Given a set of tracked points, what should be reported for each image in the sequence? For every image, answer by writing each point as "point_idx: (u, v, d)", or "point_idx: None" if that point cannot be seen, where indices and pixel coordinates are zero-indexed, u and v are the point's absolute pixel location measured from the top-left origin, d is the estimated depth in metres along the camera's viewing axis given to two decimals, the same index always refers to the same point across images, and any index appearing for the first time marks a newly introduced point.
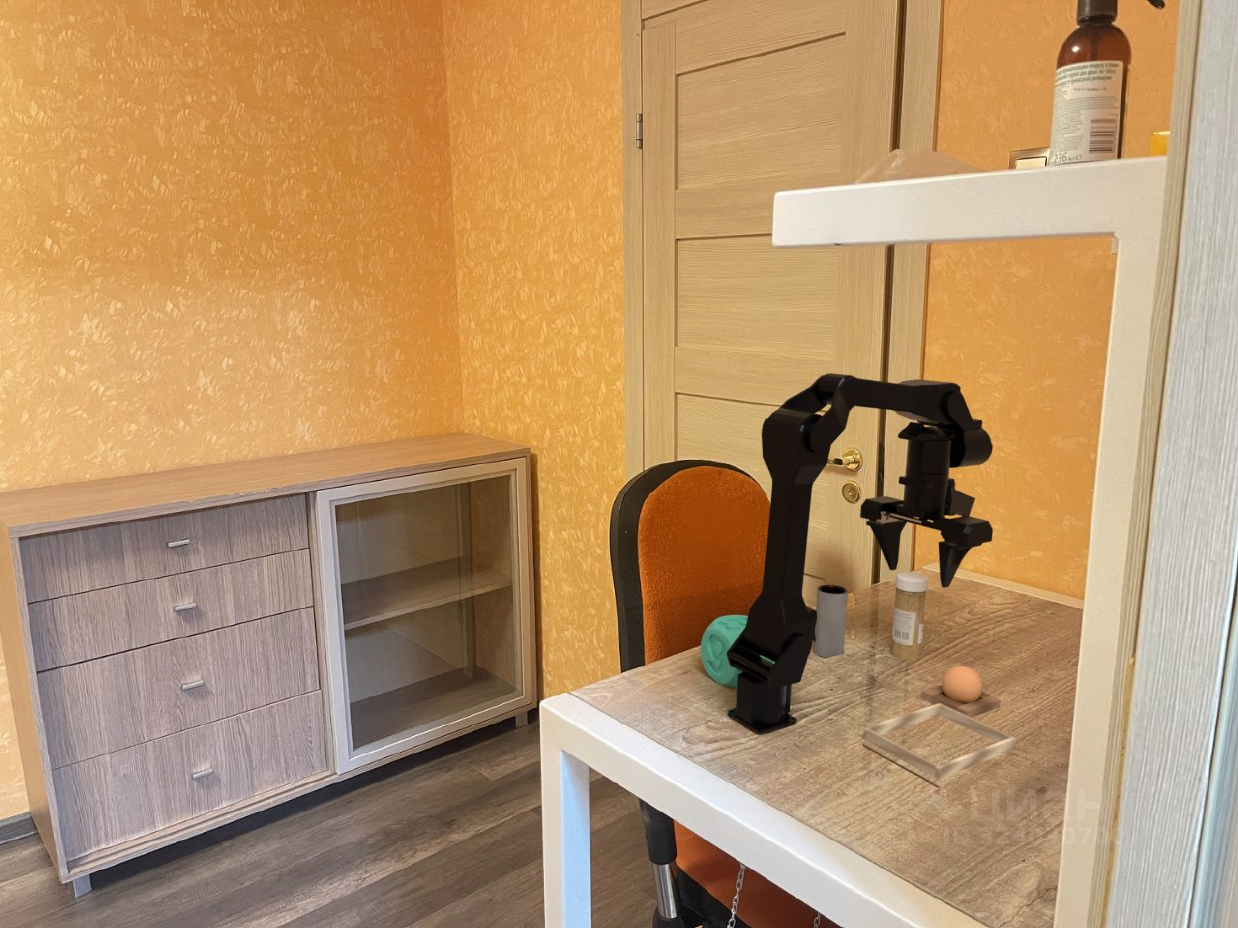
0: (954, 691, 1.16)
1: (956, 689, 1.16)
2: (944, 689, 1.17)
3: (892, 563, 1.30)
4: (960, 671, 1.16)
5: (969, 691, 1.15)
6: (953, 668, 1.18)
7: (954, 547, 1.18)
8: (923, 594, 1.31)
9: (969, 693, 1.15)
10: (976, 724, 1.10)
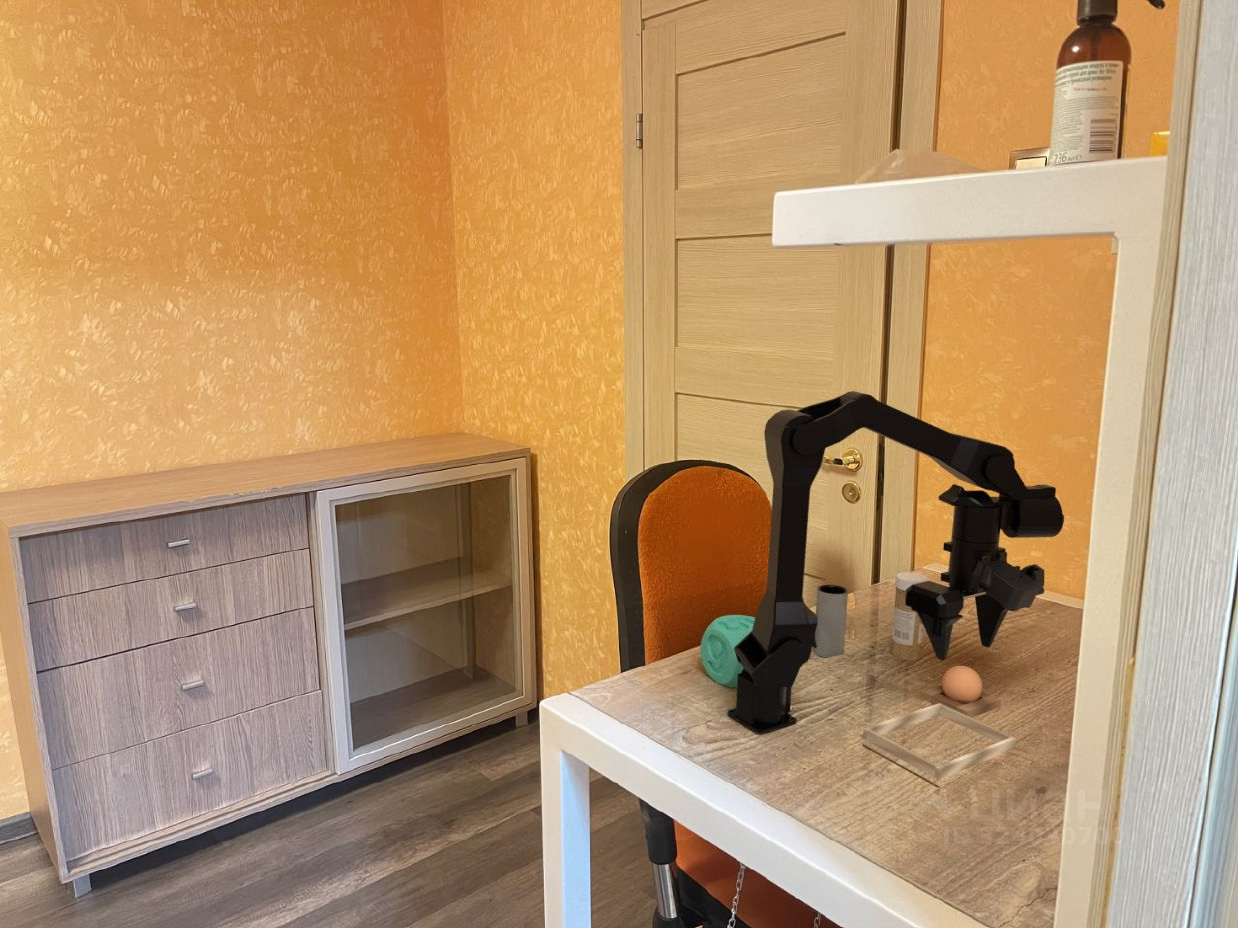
0: (954, 691, 1.16)
1: (956, 689, 1.16)
2: (944, 689, 1.17)
3: (982, 638, 1.19)
4: (960, 671, 1.16)
5: (969, 691, 1.15)
6: (953, 668, 1.18)
7: None
8: None
9: (969, 693, 1.15)
10: (976, 724, 1.10)
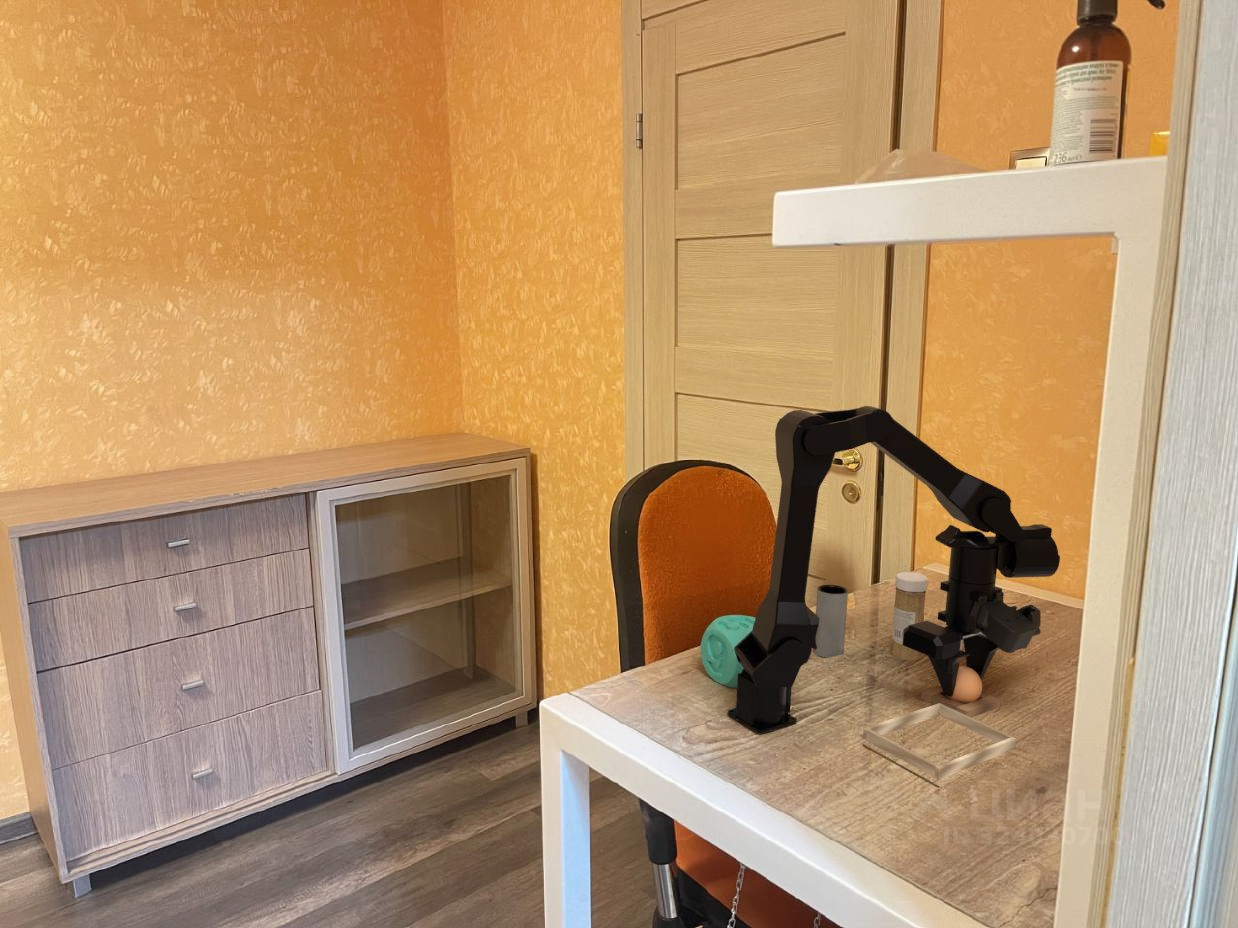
0: (954, 691, 1.16)
1: (956, 689, 1.16)
2: None
3: None
4: (960, 671, 1.16)
5: (969, 691, 1.15)
6: None
7: None
8: (923, 594, 1.31)
9: (969, 693, 1.15)
10: (976, 724, 1.10)
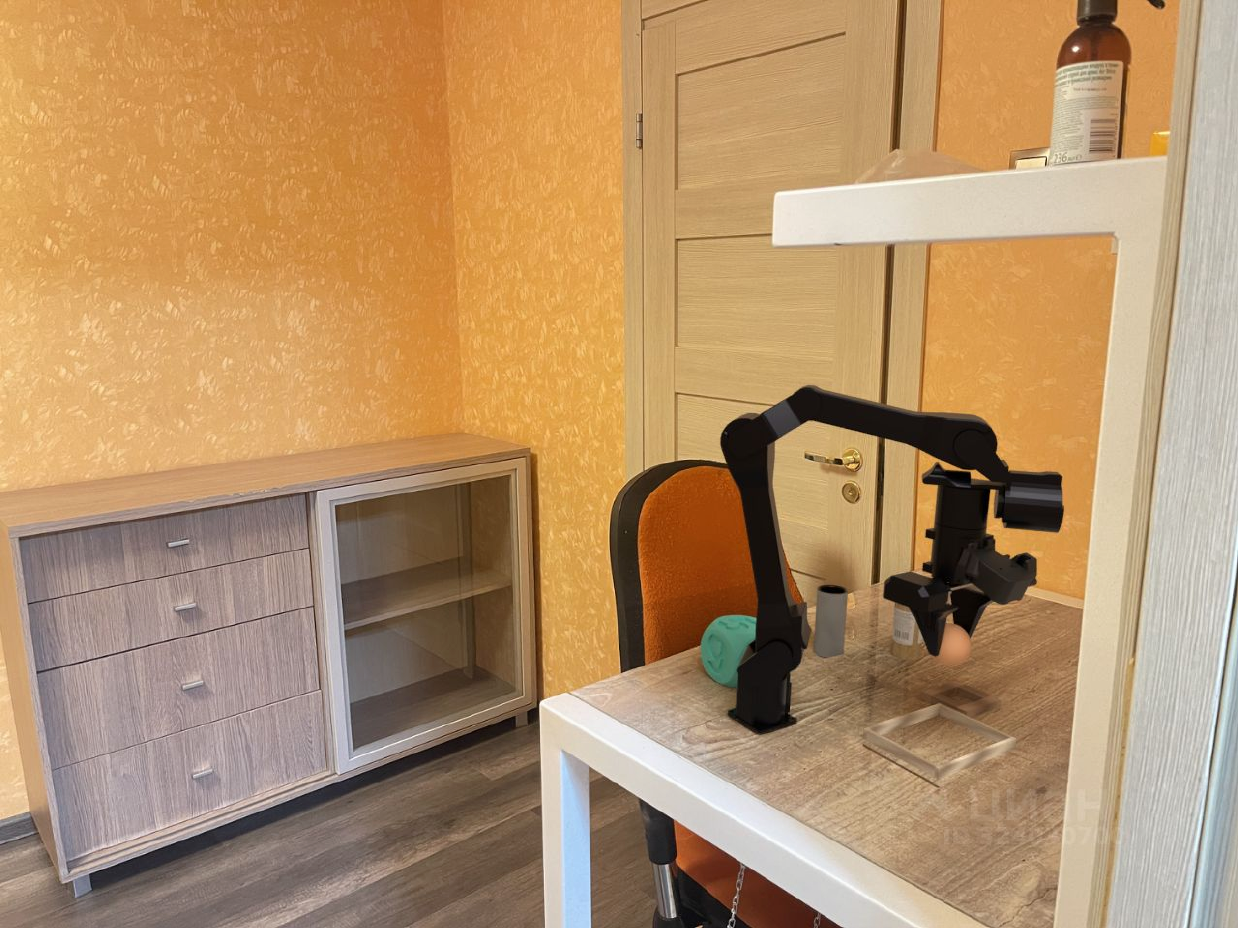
0: (940, 651, 1.04)
1: (943, 648, 1.04)
2: None
3: None
4: (948, 629, 1.04)
5: (957, 650, 1.03)
6: None
7: None
8: None
9: (957, 652, 1.03)
10: (976, 724, 1.10)
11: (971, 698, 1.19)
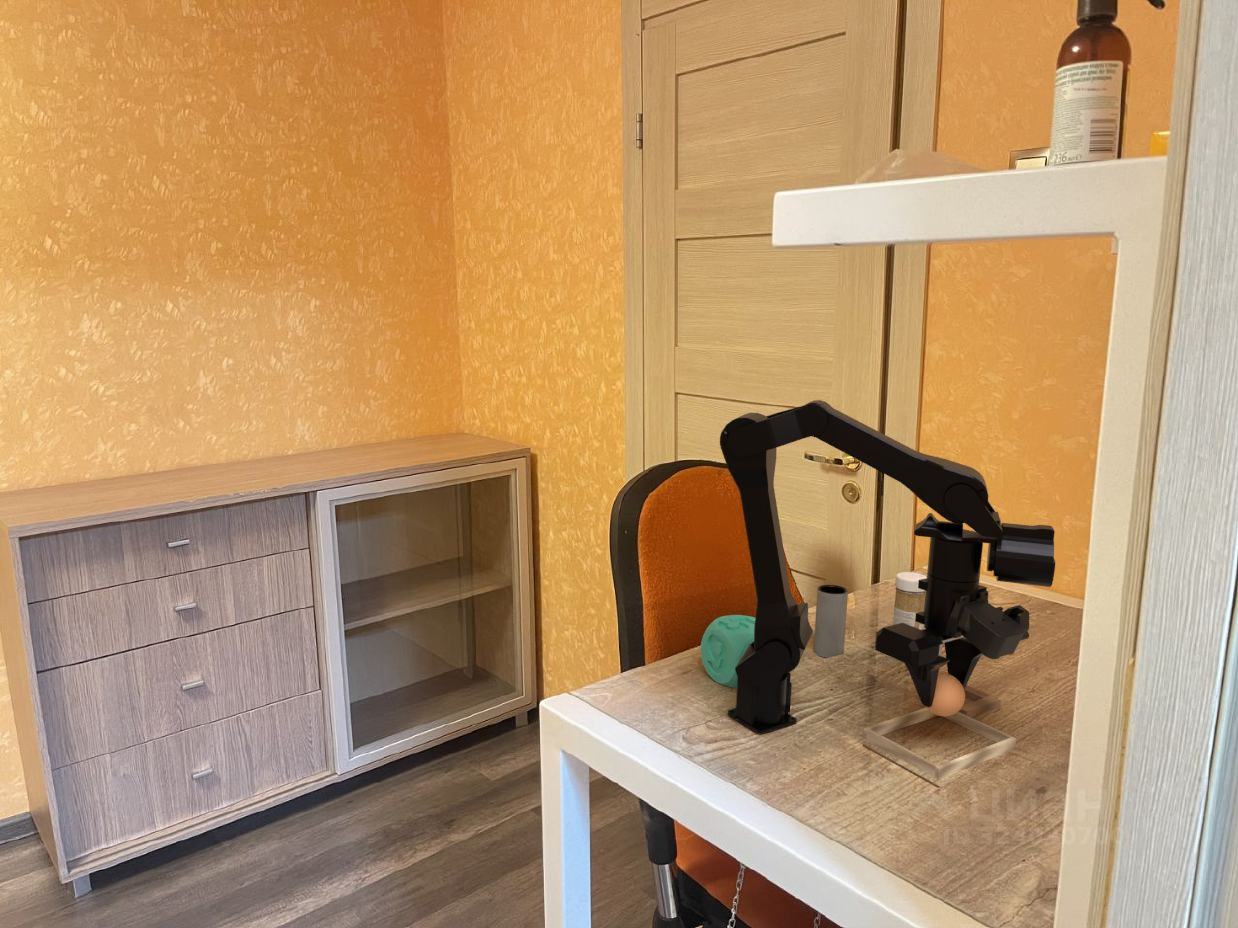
0: (933, 701, 1.04)
1: (936, 699, 1.04)
2: None
3: None
4: (941, 680, 1.04)
5: (950, 701, 1.03)
6: None
7: None
8: (923, 594, 1.31)
9: (950, 703, 1.03)
10: (976, 724, 1.10)
11: (971, 698, 1.19)
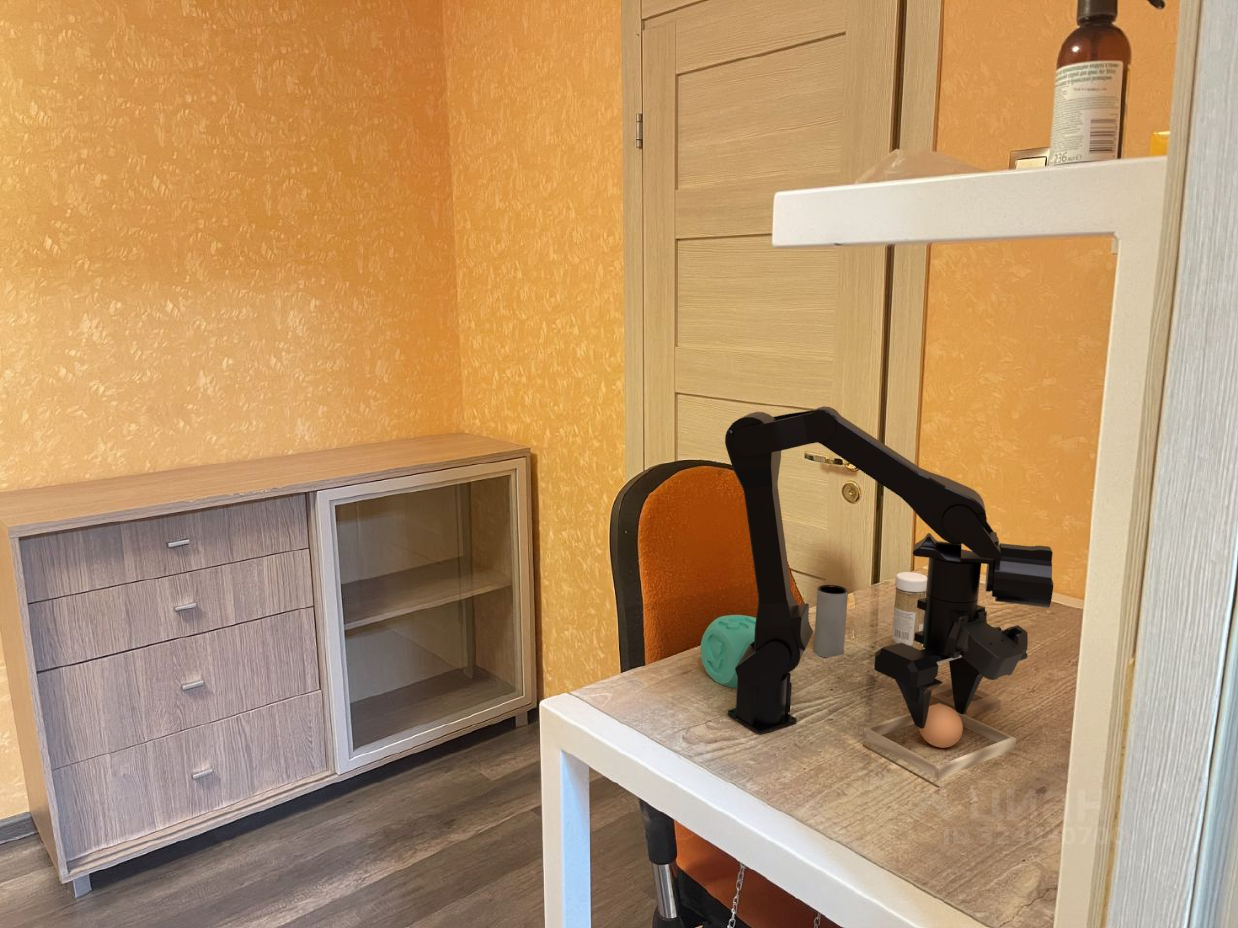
0: (931, 733, 1.05)
1: (933, 731, 1.04)
2: (921, 730, 1.06)
3: (956, 703, 1.08)
4: (939, 711, 1.05)
5: (948, 734, 1.04)
6: (931, 707, 1.06)
7: None
8: (923, 594, 1.31)
9: (948, 735, 1.04)
10: (976, 724, 1.10)
11: None
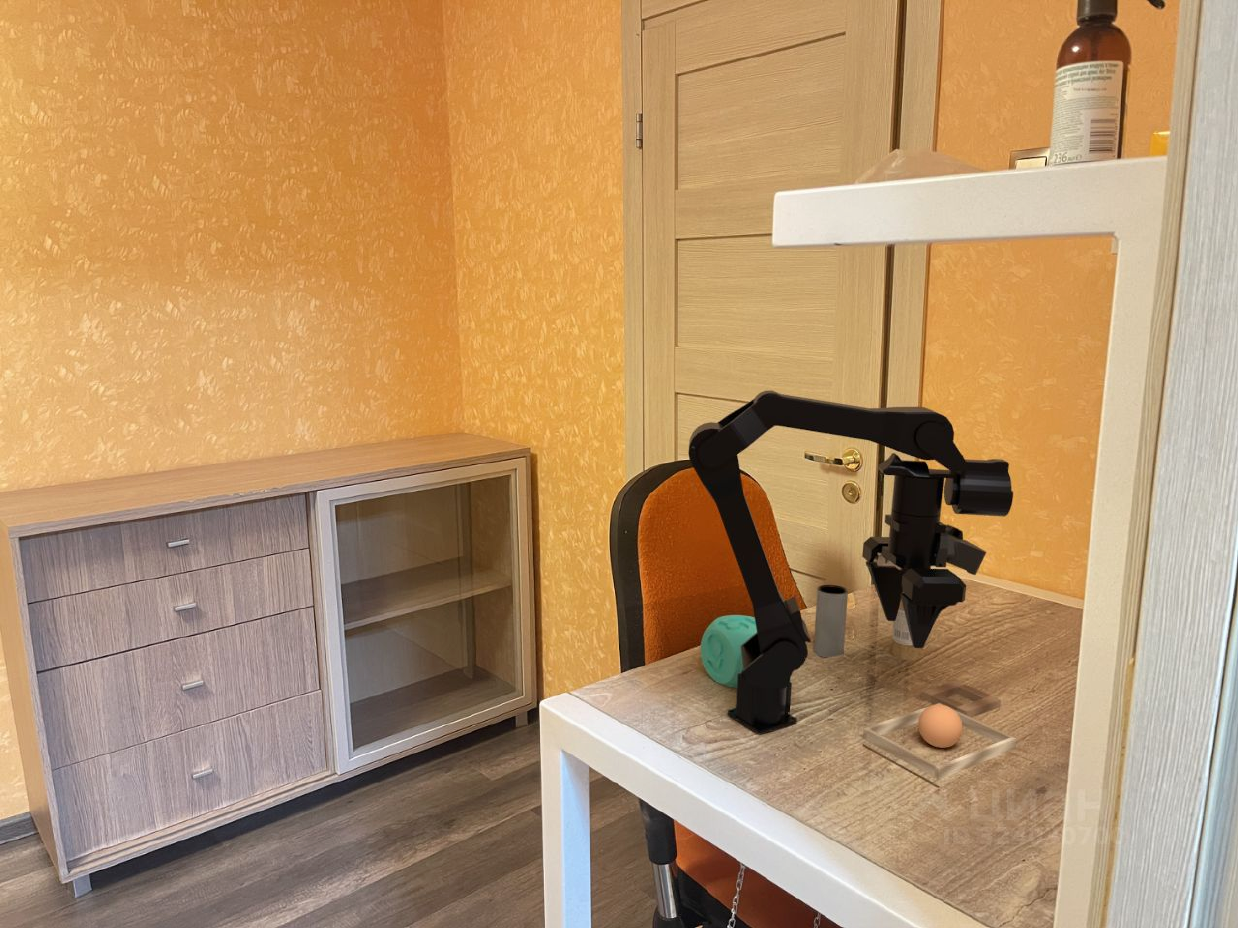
0: (931, 734, 1.05)
1: (933, 731, 1.04)
2: (920, 731, 1.06)
3: (888, 613, 1.15)
4: (938, 712, 1.05)
5: (947, 734, 1.04)
6: (930, 707, 1.06)
7: (908, 601, 1.02)
8: None
9: (948, 736, 1.04)
10: (976, 724, 1.10)
11: (971, 698, 1.19)
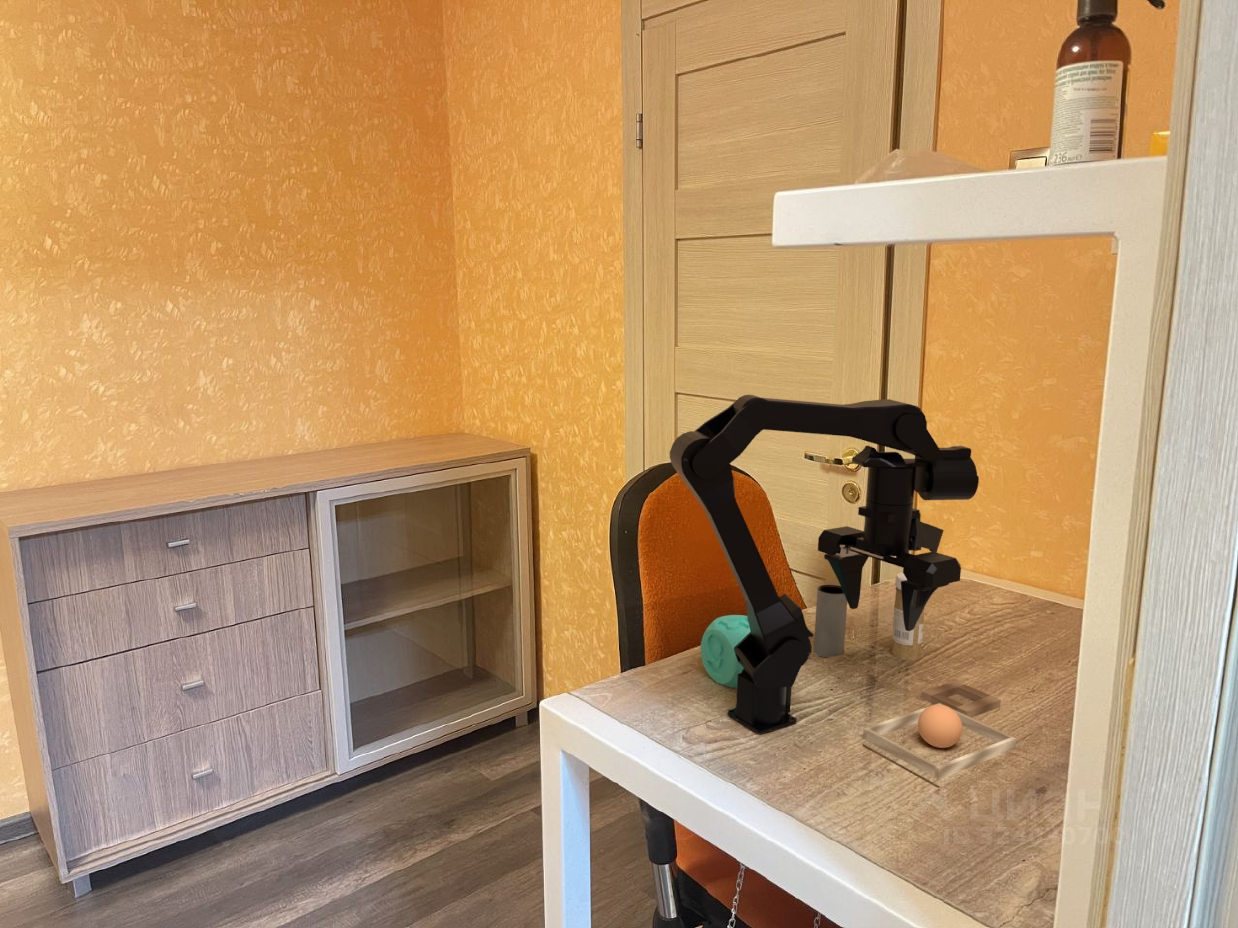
0: (930, 734, 1.05)
1: (933, 732, 1.04)
2: (920, 731, 1.06)
3: (852, 602, 1.18)
4: (938, 712, 1.05)
5: (947, 734, 1.04)
6: (930, 708, 1.06)
7: (917, 588, 1.05)
8: None
9: (947, 736, 1.04)
10: (976, 724, 1.10)
11: (971, 698, 1.19)
